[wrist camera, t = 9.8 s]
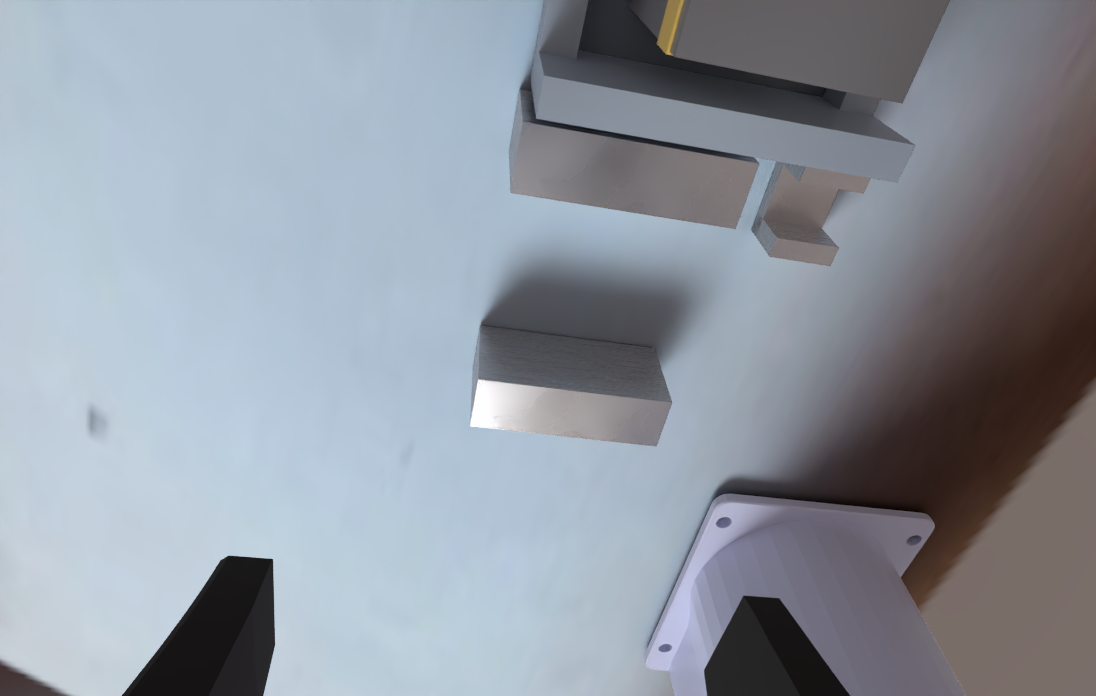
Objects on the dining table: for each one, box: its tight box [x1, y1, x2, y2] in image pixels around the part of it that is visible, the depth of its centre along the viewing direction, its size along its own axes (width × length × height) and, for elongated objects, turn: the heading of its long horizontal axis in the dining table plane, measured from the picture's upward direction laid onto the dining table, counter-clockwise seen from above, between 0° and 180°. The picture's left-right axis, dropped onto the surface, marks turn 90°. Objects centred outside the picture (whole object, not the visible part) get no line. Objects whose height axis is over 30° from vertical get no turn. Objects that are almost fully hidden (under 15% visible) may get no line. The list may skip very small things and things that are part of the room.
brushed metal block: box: [470, 89, 759, 446], centre depth 18 cm, size 8×5×2 cm, turn 169°
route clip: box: [752, 161, 870, 266], centre depth 18 cm, size 2×2×2 cm
